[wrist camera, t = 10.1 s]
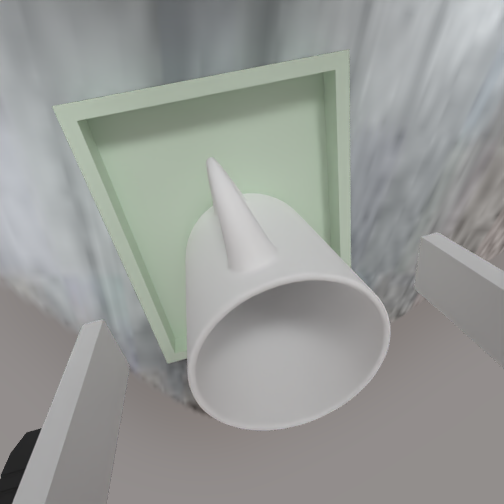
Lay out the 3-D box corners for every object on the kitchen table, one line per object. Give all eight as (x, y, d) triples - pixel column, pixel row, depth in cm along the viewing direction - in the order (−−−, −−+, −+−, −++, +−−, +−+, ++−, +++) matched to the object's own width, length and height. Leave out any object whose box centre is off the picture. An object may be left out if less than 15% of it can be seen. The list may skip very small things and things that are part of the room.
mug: (272, 115, 18) (368, 139, 9) (315, 272, 24) (399, 386, 15) (136, 168, 18) (86, 250, 9) (213, 313, 24) (233, 455, 15)
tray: (66, 104, 16) (51, 106, 14) (331, 53, 18) (349, 49, 16) (168, 343, 25) (167, 363, 23) (339, 296, 27) (351, 311, 25)
